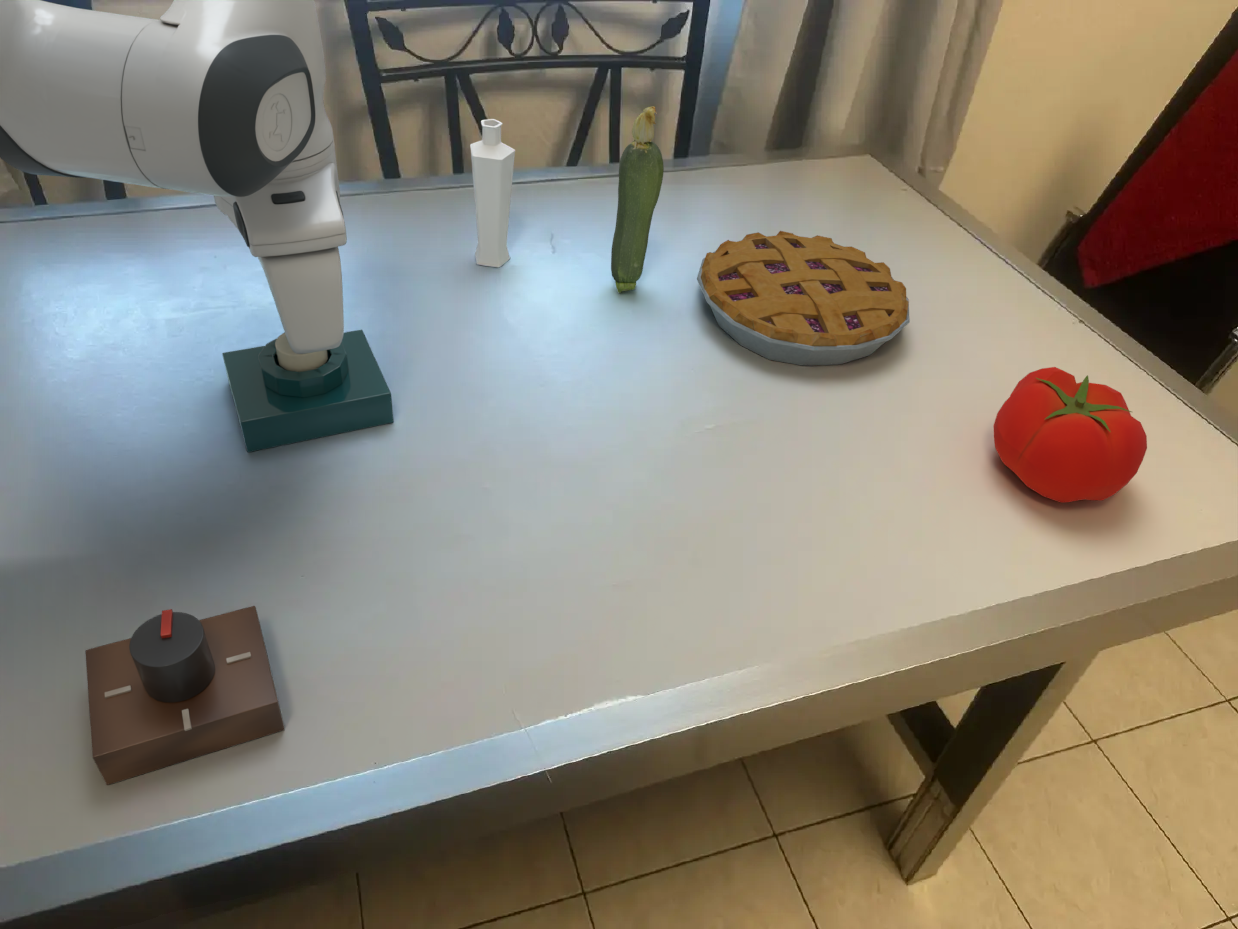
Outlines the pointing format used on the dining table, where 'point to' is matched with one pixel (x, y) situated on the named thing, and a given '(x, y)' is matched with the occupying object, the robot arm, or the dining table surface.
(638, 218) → the vegetable
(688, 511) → the dining table surface
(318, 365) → the cream push button
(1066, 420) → the tomato
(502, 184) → the perfume bottle
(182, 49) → the robot arm
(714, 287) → the pie
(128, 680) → the dial panel
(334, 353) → the teal push button box
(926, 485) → the dining table surface
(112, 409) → the dining table surface
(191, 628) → the dial
